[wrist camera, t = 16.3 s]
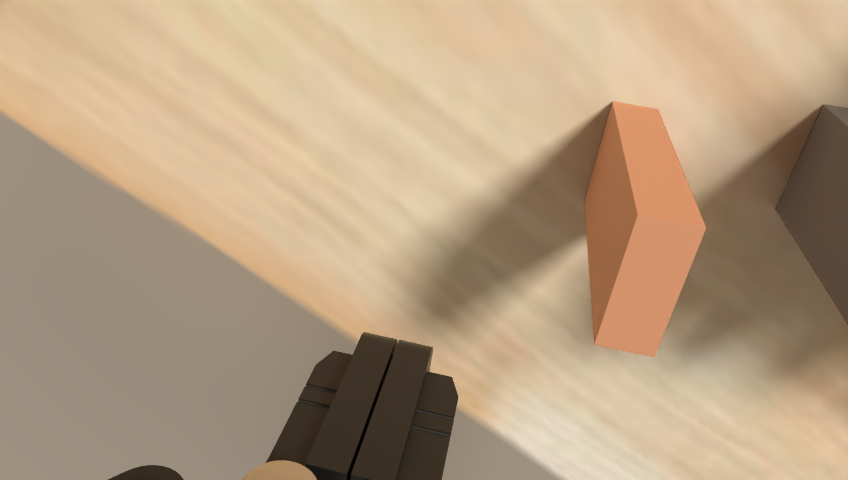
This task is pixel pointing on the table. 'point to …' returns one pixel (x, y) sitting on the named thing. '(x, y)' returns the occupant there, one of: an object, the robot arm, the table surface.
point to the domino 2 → (822, 202)
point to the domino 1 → (638, 231)
